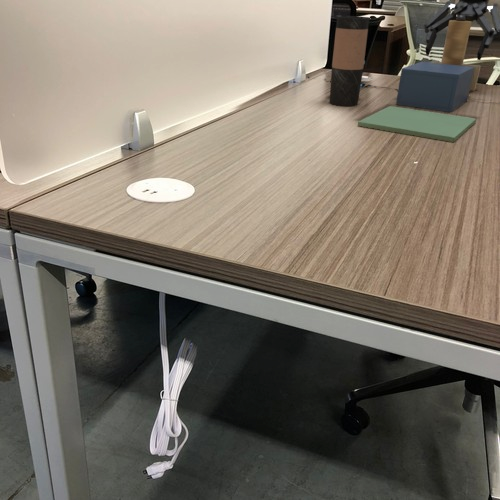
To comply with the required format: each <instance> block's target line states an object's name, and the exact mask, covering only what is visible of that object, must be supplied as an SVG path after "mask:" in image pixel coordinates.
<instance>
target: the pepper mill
mask: <svg viewBox="0 0 500 500" xmlns="http://www.w3.org/2000/svg"><path fill="white" fill-rule="evenodd" d="M465 20H466V18H465V16H464V15H459V16H458V17H457V18H456V20H450V21H449V25H448V26H447V30H446V36H445V41H444V46H443V51H442V56H441V61H440V62H441V64H449V65H460V66H462V65H463V64H464V60H465V55H466V50H467V46H468V41H469V36H470V32H471V27H472V24H473V23H472V22H471V21H465Z"/></svg>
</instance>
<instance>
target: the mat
mask: <svg viewBox="0 0 500 500" xmlns="http://www.w3.org/2000/svg"><path fill="white" fill-rule="evenodd" d="M476 122H477V118H475V117H467V116H462V115H461V116H460V115H453V114H448V113H439V112H434V111H433V112H432V111H427V110H420V109H413V108H406V107H398V106H393V105H392V106H391V105H389V106H387V107H385V108H383V109H381V110H379V111H377V112H374V113H373V114H370V115H369V116H366V117H364V118H363V119H360V120H359V121H358V122H357V127H360V126H362V127H361V128H366V127H368V128H367V129H372V128H374V129H373V130H377V129H380V130H379V131H383V130H385V132H389V131H390V133H395V132H396V134H400V135H401V134H402V135H408V136H413V135H414V137H420V138H424V139H430V138H431V139H432V140H436V139H437V140H438V141H443V142H449V143H454V142H456V141H457V140H458V139H459V138H460V137H461V136H463V135H464V134H465V133H466V132H467V131H468V130H470V128H471V127H473V126H474V125H475V124H476Z"/></svg>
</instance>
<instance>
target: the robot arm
mask: <svg viewBox="0 0 500 500" xmlns="http://www.w3.org/2000/svg"><path fill="white" fill-rule="evenodd" d="M489 2H490V0H458V2H457V3H456V4H454V3H451V1H450V0H447V1H445V3H444V5H443V7H442V8H441V9H439V11H438V12H436V13H435V14H434V15H433V16H432V17H431V18H430V19H429V20H428V21H426V22H425V24H424V25H423V27H424V33H425V34H427V35H426V37H425V40H426V41H425V42H426V46H425V55H426V56H429V55H430V53H431V51H432V49H433V46H434V44H435V41H436V39H437V34H438V33H440V32H441V31H442V30H444V29H446V28H448V25H449V21H450V20H456V18H457V17H458V16H459V15H464V16H465V18H466V20H465V21H471V22H474V21H475V22H476V24H477V25H478V26H479V27H480V28H481V30H482V31H483V33H484V36H483V38H482V41H481V44H480V45H479V47H478V51H477V56H476V60H477V61H481V60H482V57H483V54H484V52H485V49H490V47H491V44H492V43H493V40H494V39H500V16H499V11H498V10H499V3H493V5H488V4H489ZM486 13H488V15H489V16H491V21H492V24H493V27H492V25H491V23H489V21H488V20H487V18H486V17H485V14H486Z"/></svg>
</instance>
